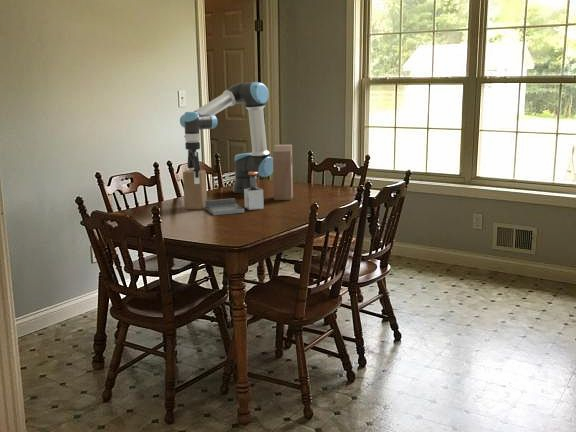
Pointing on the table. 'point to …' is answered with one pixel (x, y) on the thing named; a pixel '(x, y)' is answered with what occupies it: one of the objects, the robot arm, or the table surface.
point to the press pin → (253, 179)
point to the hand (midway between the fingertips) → (194, 182)
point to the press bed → (223, 207)
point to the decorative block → (282, 172)
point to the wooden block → (194, 190)
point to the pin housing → (254, 198)
